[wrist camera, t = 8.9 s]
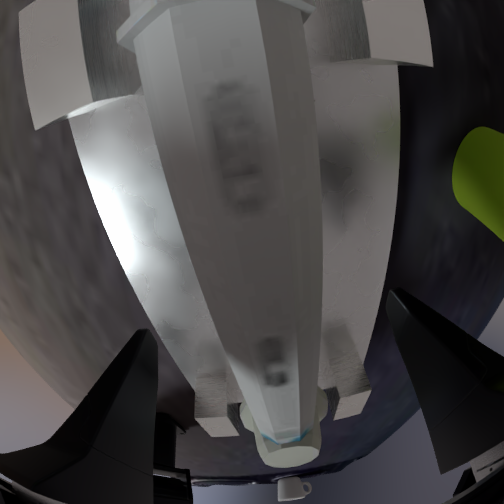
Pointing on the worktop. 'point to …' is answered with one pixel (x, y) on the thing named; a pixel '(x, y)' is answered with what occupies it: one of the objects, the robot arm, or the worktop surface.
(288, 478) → the cup
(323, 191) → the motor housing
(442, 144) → the worktop surface
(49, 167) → the worktop surface
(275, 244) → the electric toothbrush handle
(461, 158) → the soap dispenser
